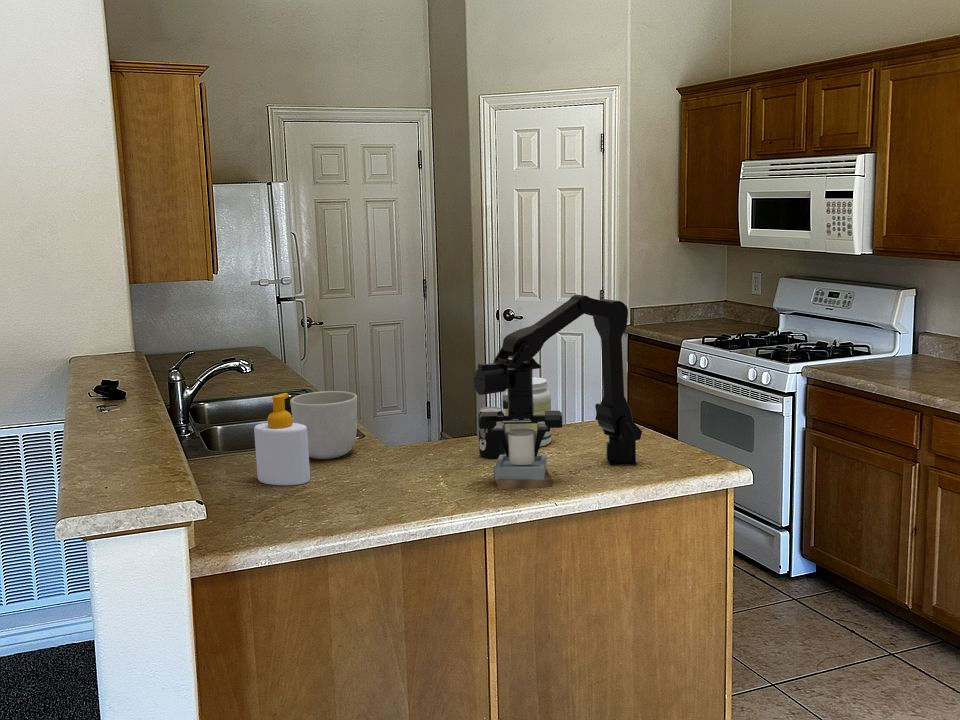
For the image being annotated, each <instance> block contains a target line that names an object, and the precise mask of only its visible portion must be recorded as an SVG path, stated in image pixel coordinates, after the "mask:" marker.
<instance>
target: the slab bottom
mask: <svg viewBox="0 0 960 720" xmlns="http://www.w3.org/2000/svg"><path fill="white" fill-rule="evenodd" d="M493 476H494V479H495V466H493ZM495 483H496V485H497V489H498V490H517V489H518V490H519V489H532V488H533V489H536V488H552V487H553V480H552V477H551V475H550V473H549V471H548V469H547V468H546V472H545V477H544V480H503V479H495Z"/></svg>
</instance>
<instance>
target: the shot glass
mask: <svg viewBox="0 0 960 720" xmlns="http://www.w3.org/2000/svg"><path fill="white" fill-rule="evenodd" d="M506 436H507V444H508V451H509V461H510V463H512V464H515V465H527V464H531V463H533V462H534V455H535V441H536V431H535V430H532V429H513V430H509V431H507V432H506Z"/></svg>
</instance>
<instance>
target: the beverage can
mask: <svg viewBox="0 0 960 720" xmlns="http://www.w3.org/2000/svg"><path fill="white" fill-rule="evenodd" d="M503 411H504V409H503V407H498V406H486V407H482V408H480V409H479V413H478V417H477V419H478V425H479V417H480V414H481V413H482V412H497V415H498V416H505V412H503ZM491 430H492V429H479V428H478V453H479V455H480V456H481V457H482V458H483V459H484V458H485V459H498V458H499V455H506V453H505V451H504V448H503V446H502V443H501V441H500V439H499V437H498V436H497V434H496V433H495V432H491Z"/></svg>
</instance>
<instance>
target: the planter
mask: <svg viewBox="0 0 960 720" xmlns="http://www.w3.org/2000/svg"><path fill="white" fill-rule="evenodd" d="M289 401H290V409H291V416H292V423H298V424H303V425H305V426H306V427H307V436H308V451H309V459H310V458H311V459H316V460H331V459H336V458H341V457H343V456H345V455H346V454H348V453H349V452H350V451H351V450H352V449H353V448H354V445H355V442H356V439H357V433H358V432H357V424H358V395H357V394H356V393H355V392H349V391H341V390H337V391H336V390H327V391H326V390H325V391H324V390H323V391H315V392H308V393H302V394H299V395H296V396H295V395H294V397H291V398H290V400H289Z"/></svg>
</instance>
